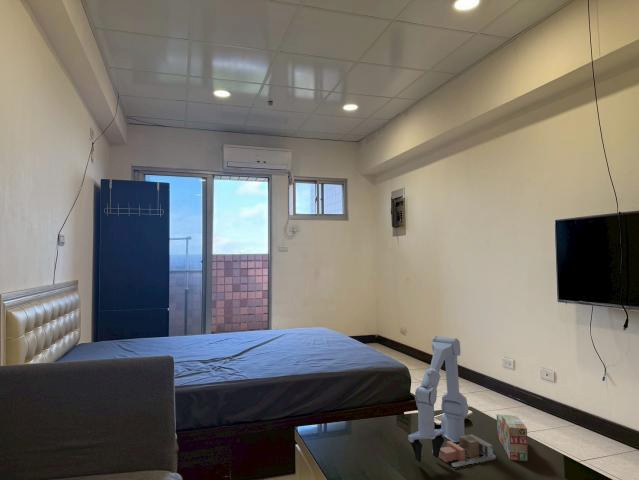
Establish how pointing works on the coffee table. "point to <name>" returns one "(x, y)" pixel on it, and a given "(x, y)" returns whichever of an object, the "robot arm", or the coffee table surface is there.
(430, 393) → the robot arm
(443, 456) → the block
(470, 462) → the pale grey flat frame
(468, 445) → the block
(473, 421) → the coffee table surface
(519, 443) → the stack of blocks
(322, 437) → the coffee table surface
